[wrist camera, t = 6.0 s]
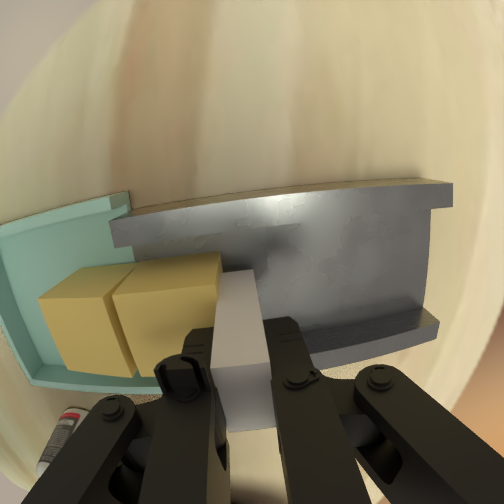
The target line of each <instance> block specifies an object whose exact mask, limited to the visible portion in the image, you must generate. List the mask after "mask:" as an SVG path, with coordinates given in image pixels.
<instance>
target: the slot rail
mask: <svg viewBox="0 0 504 504" xmlns="http://www.w3.org/2000/svg"><path fill="white" fill-rule="evenodd" d="M447 207H453V183H449V182H443V181H437V180H431V179H424V178H402V179H381V180H363V181H348V182H335V183H323V184H312V185H301V186H291V187H281V188H272V189H264V190H255V191H247V192H239V193H232V194H225V195H217V196H210V197H204V198H197V199H191V200H184V201H178V202H172V203H166V204H160V205H155V206H149V207H143V208H138V209H133V210H130V211H128V212H126V213H124V214H122V215H120V216H118V217H116V218H114V219H112V220H110V221H109V226H110V231H111V235H112V240H113V244H114V248H121V247H127V246H132V250H133V255H134V259H135V263H137V262H140V261H145V260H152V259H160V258H167V257H175V256H183V255H190V254H198V253H206V252H213V251H220V256H221V263H222V269H223V273H226V272H234V271H242V270H249V269H253V272H254V277H255V283H256V288H257V294H258V299H259V305H260V310H261V316H262V320H265V319H272V318H279V317H286V316H289V317H291V318H292V319H293V320H295V321H296V322H297V323H298V326H299V328H300V331H301V333H302V336H303V340H304V341H305V344H306V347H307V349H308V352H309V354H310V357H311V360H312V362H313V365H314V367H315V368H317V369H318V370H323V369H328V368H332V367H337V366H342V365H346V364H350V363H355V362H359V361H363V360H367V359H371V358H374V357H378V356H382V355H386V354H389V353H393V352H396V351H400V350H403V349H406V348H409V347H413V346H416V345H419V344H422V343H425V342H428V341H431V340H434V339H436V337H437V333H438V328H439V324H440V321H438V320H437V319H436V318H435V317H434V316H433V315H432V314H431V313H429V312H428V311H427V310H426V309H425V308H424V307H423V302H424V295H425V287H426V279H427V269H428V258H429V243H430V218H431V209H435V208H447ZM155 378H156V377H155ZM156 380H157V379H156ZM157 382H158V381H157ZM158 385H159V384H158ZM159 387H160V386H159Z"/></svg>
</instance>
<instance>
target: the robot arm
mask: <svg viewBox="0 0 504 504" xmlns="http://www.w3.org/2000/svg"><path fill="white" fill-rule="evenodd" d="M153 371H154V374H155V376H156V379H157V381H158V384H159V386H160V388H161V391H162V393H163V394H162V397H161V398H159V399H157V400H154V401H151V402H147V403H143V404H138V405H135V404H134V402H133V401H132V400H131V399H130V398H128V397H126V396H124V395H113V396H108V397H106V398H104V399H102V400H100V401H99V402H98V403H97V404H96V405H94V407H93V408H92V409H91V410H90V412H89V413H88V414H87V416H86V417H85V418H84V419H83V421H82V422H81V423H80V425H79V426H78V427H77V429H76V430H75V431H74V432H73V434H72V435H71V436H70V438H69V439H68V440H67V442H66V443H65V444H64V446H63V447H62V448H61V450H60V451H59V452H58V454H57V455H56V456H55V458H54V459H53V460H52V462H51V463H50V464H49V466H48V467H47V468H46V470H45V471H44V472H43V474H42V475H41V476H40V478H39V479H38V481H37V482H36V483H35V485H34V486H33V487H32V489H31V490H30V492H29V493H28V495H27V496H26V497H25V499H24V500H23V501H22V503H21V504H230V462H229V444H228V440H227V437H226V426H227V429H228V432H238V431H249V430H258V429H266V428H273V427H277V434H278V443H279V452H280V455H281V461H282V467H283V473H284V479H285V485H286V492H287V498H288V504H372V503H371V500H370V497H369V495H368V492H367V489H366V486H365V484H364V481H363V478H362V475H361V473H360V470H359V467H358V465H357V462H356V460H357V461H358V462H359V464H360V465H361V466H362V467H363V469H364V470H365V471H366V473H367V474H368V475H369V476H370V478H371V479H372V480H373V482H374V483H375V484H376V485H377V487H378V488H379V489H380V490H381V492H382V493H383V494H384V495H385V497H386V498H387V499H388V500H389V502H390V503H391V504H504V458H503V457H502V456H501V455H500V454H499V453H497V452H496V451H495V450H494V449H493V448H491V447H490V446H489V445H488V444H487V443H486V442H484V441H483V440H482V439H481V438H480V437H478V436H477V435H476V434H475V433H474V432H472V431H471V430H470V429H469V428H468V427H466V426H465V425H464V424H463V423H462V422H461V421H459V420H458V419H457V418H456V417H455V416H453V415H452V414H451V413H450V412H449V411H448V410H446V409H445V408H444V407H443V406H442V405H440V404H439V403H438V402H437V401H436V400H434V399H433V398H432V397H431V396H430V395H429V394H427V393H426V392H425V391H424V390H423V389H421V388H420V387H419V386H418V385H417V384H415V383H414V382H413V381H412V380H411V379H409V378H408V377H407V376H406V375H405V374H403V373H402V372H401V371H400V370H398V369H396V368H395V367H393V366H389V365H384V364H379V365H372V366H368V367H365V368H364V369H362V370H361V371H360V372H359V373H358V374H357V376H356V378H355V379H333V378H330V377H326V376H324V375H322V373H321V372H320V371H319V370H318V369H317V368H315V367H314V365H313V362H312V360H311V357H310V354H309V352H308V349H307V347H306V344H305V341H304V340H303V336H302V333H301V331H300V328H299V326H298V323H297V322H296V321H295V320H293V319H292V318H291V317H289V316H286V317H279V318H272V319H265V320H262V316H261V310H260V305H259V299H258V294H257V288H256V283H255V277H254V272H253V269H249V270H242V271H234V272H226V273H221V275H220V285H219V295H218V301H217V305H216V314H215V324H214V327H207V328H197V329H192V330H191V331H190V332H189V333H188V335H187V336H186V337H185V340H184V344H183V348H182V352H181V354H176V355H172V356H169V357H167V358H165V359H163V360H162V361H160V362H159V363H158V364H157V365H156V367H155V368H154V370H153ZM355 458H356V459H355Z"/></svg>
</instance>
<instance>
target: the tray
mask: <svg viewBox="0 0 504 504" xmlns="http://www.w3.org/2000/svg"><path fill="white" fill-rule="evenodd" d="M130 210H131V204H130V199H129V193H128V191H125V192H120V193H116V194H111V195H107V196H102V197H98V198H94V199H90V200H86V201H82V202H78V203H74V204H70V205H66V206H62V207H58V208H55V209H51V210H48V211H44V212H41V213H37V214H34V215H31V216H27V217H24V218H21V219H17V220H14V221H11V222H8V223H5V224H2V225H0V326H1V328H2V330H3V333H4V335H5V337H6V339H7V341H8V343H9V345H10V347H11V349H12V351H13V353H14V355H15V357H16V359H17V361H18V363H19V365H20V367H21V369H22V370H23V372H24V374H25V376H26V378H27V379H28V381H29V383H30V384H31V385H34V386H40V387H47V388H55V389H63V390H72V391H83V392H96V393H115V394H163V393H162V391H161V388H160V387H159V385H158V382H157V380H156V378H155V377H141V375H140V373H139V370H138V369H137V371H136V373H135V374H134V376H133V378H129V377H118V376H109V375H101V374H93V373H85V372H79V371H72V370H68V369H67V367H66V365H65V363H64V361H63V359H62V357H61V355H60V353H59V351H58V349H57V346H56V344H55V342H54V340H53V337H52V335H51V333H50V330H49V328H48V326H47V323H46V321H45V318H44V316H43V313H42V310H41V308H40V305H39V302H38V300H37V298H39V297H40V296H41V295H43V294H44V293H45V292H47V291H48V290H50V289H51V288H52V287H54V286H55V285H57V284H58V283H59V282H61V281H62V280H64V279H65V278H67V277H68V276H69V275H71V274H72V273H74V272H75V271H77V270H78V269H80V268H84V267H95V266H106V265H116V264H127V263H135V259H134V255H133V250H132V246H127V247H121V248H114V244H113V240H112V235H111V231H110V226H109V221H110V220H112V219H114V218H116V217H118V216H120V215H122V214H124V213H126V212H128V211H130Z"/></svg>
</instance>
